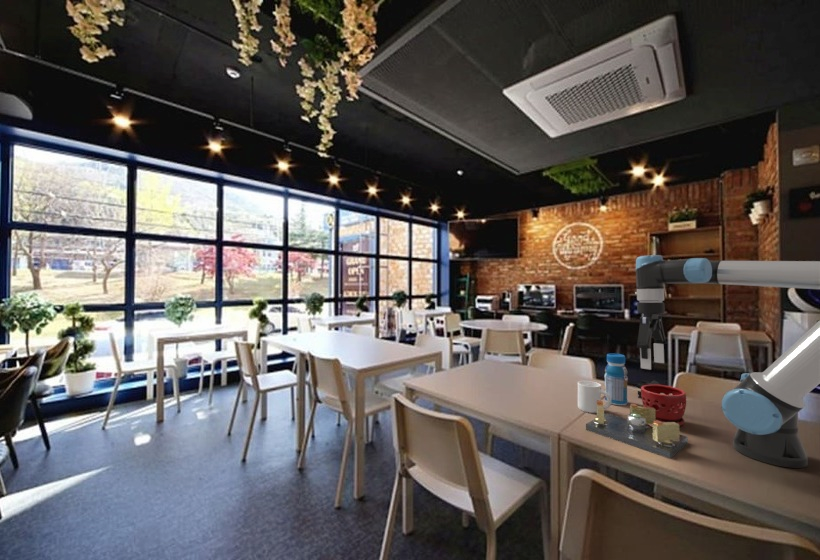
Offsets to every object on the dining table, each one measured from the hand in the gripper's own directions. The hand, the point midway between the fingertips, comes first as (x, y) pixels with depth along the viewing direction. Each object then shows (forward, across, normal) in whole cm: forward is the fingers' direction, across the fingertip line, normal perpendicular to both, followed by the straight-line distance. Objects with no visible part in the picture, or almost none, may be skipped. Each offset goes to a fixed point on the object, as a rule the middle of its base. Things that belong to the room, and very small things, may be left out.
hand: (652, 365), depth 114 cm
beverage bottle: (+22, -24, -20) cm, 38 cm away
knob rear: (+20, 0, -4) cm, 21 cm away
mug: (+22, -7, -22) cm, 32 cm away
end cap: (+23, -42, -14) cm, 50 cm away
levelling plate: (+23, +6, -4) cm, 24 cm away
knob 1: (+20, +9, -14) cm, 26 cm away
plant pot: (+23, -15, -2) cm, 27 cm away
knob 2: (+21, +10, +5) cm, 23 cm away
